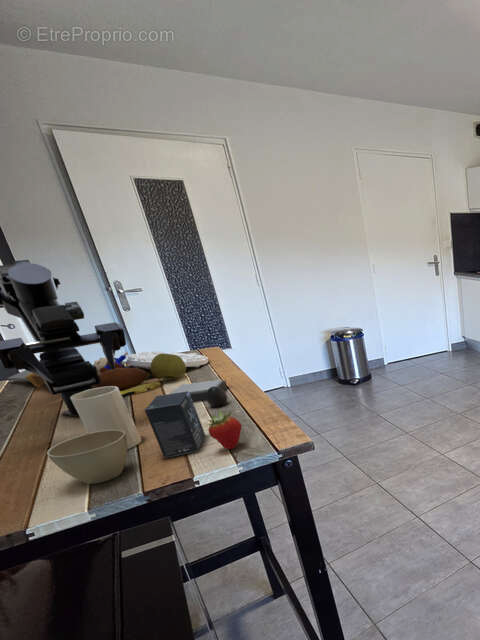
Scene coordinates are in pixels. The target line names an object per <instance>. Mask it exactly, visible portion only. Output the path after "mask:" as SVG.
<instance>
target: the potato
mask: <svg viewBox="0 0 480 640" xmlns="http://www.w3.org/2000/svg"><path fill="white" fill-rule="evenodd" d="M144 370H145V369H143V370H142V369H138V368H115V369H114V370H112V369H110V370H108V371H105V372H103V373H101V374H100V375H99V378H100V380H101V382H100V384H98V385H94V386H95V387H97V388H99V387H106V386H116V387H118V389H119V391H124V390H127V389H130V388H133V387H136V386H139V385H142V384H143V382H144V381H146V380H145V379H146V377H147V373H146V371H144Z"/></svg>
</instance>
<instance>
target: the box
mask: <svg viewBox="0 0 480 640" xmlns="http://www.w3.org/2000/svg"><path fill="white" fill-rule="evenodd" d="M144 412H145V415H146V417H147V420H148V421H149V424H150V427H151V429H152V431H153V434H154V436H155V438H156V441H157V443H158V446H159V448H160V451H161V453H162V455H163V458H164V459H167V458H173V457H179V456H183V455H187V454H192V453H198V452H199V450H200V447H201V445H202V443H203V441H204V440H205V438H206V432H205V431H204V430H205V429H204V428H203V425H202V422H201V419H200V416H199V414H198V412H197V409H196V406H195V404H194V402H193V401H192V398H191V395H190V393H189V391H187V392H180V393H174V394H170V393H167V394H162V395H161V394H160V395H156V396H155V397H154V399H152V401H151V402H150V403H149V405H147V406H146V407H145V408H144Z"/></svg>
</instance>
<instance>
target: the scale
mask: <svg viewBox="0 0 480 640" xmlns="http://www.w3.org/2000/svg"><path fill="white" fill-rule="evenodd" d="M213 386H215V387H218V388H220V389H222V390H223V391H224V392H225V391H226V390H227V388H228V384H227V381H226V380H223V379H214V380H208V381H207V380H206V381H199V382H192V383H191V382H190V383H183V384H181V385H179V386H178V387H177V388H175V389H174V390H173V391H172V392H170V393H169V394H174V393H180V392H187V391H189V393H190V395H191V398H192V401H193V403H194V402H202V401H203V402H204V401H207V399H206V394H207V391H208V389H209V388H210V387H213Z"/></svg>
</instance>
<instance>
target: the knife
mask: <svg viewBox="0 0 480 640" xmlns="http://www.w3.org/2000/svg"><path fill="white" fill-rule="evenodd" d="M25 378H26V379H25ZM17 379H21V380H17ZM7 380H8V381H9V382H30V383H31V384H32V385H33V386H35V387H36V388H40V387H41V388H42V387H43V386H44V385H46V384H45V382H44V379H43V378H42V377H40V376H39V375H37V374H35V373H32V372H30V371H27V370H25V369H24V370H23V371H21V372H18V373H15V374H13V375H11V376H8V377H7ZM11 380H13V381H11ZM14 380H16V381H14Z"/></svg>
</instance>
